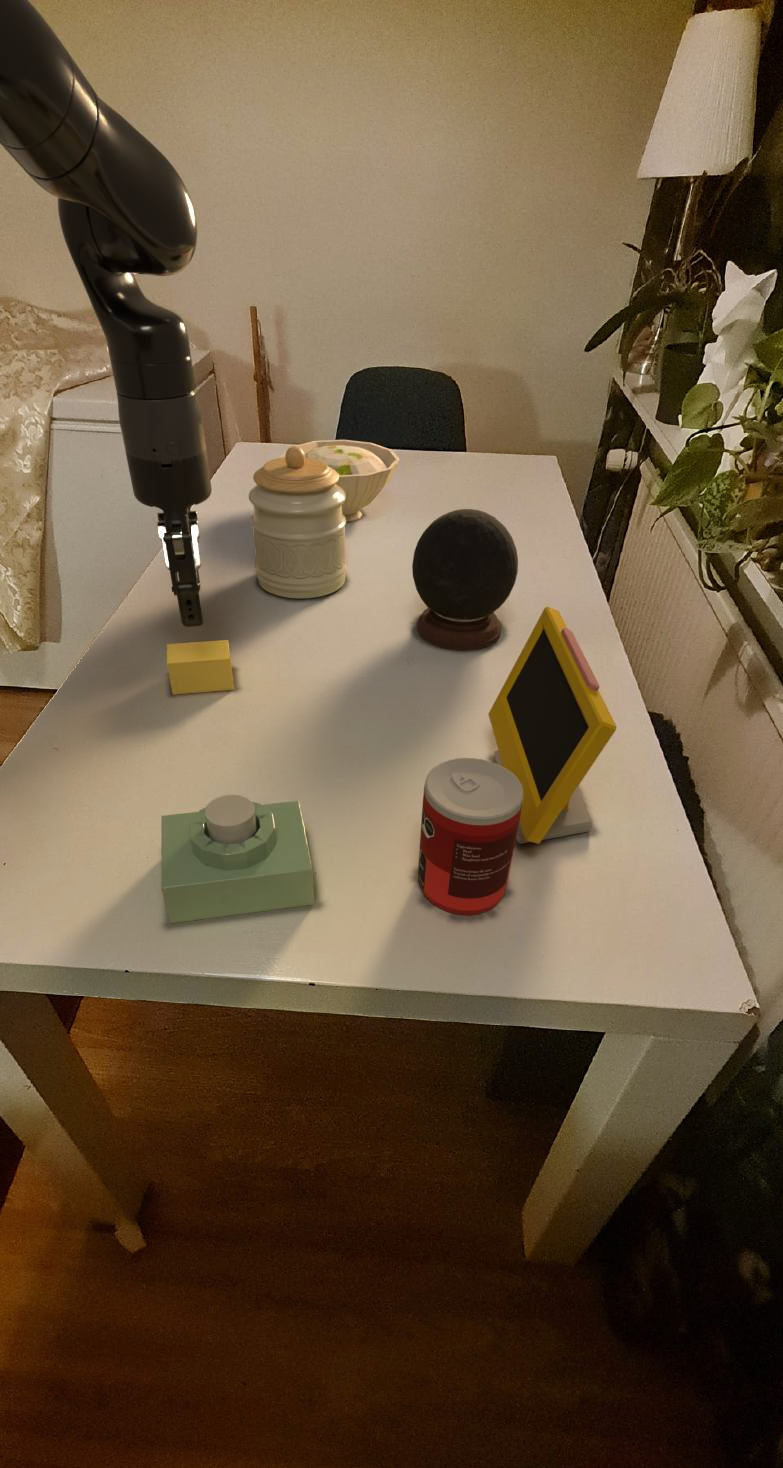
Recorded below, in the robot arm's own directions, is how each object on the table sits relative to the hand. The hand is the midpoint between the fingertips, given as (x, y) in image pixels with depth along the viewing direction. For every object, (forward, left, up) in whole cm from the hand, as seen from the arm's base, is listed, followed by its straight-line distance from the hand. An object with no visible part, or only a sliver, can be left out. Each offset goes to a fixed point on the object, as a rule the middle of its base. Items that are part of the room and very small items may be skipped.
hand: (192, 606), depth 84 cm
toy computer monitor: (+32, -28, -10) cm, 43 cm away
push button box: (+2, -34, -9) cm, 35 cm away
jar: (+15, +26, -10) cm, 31 cm away
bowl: (+25, +51, -10) cm, 58 cm away
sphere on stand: (+33, +8, -10) cm, 36 cm away
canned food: (+21, -38, -10) cm, 44 cm away
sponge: (0, 0, -9) cm, 9 cm away
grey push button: (+2, -34, -4) cm, 34 cm away
